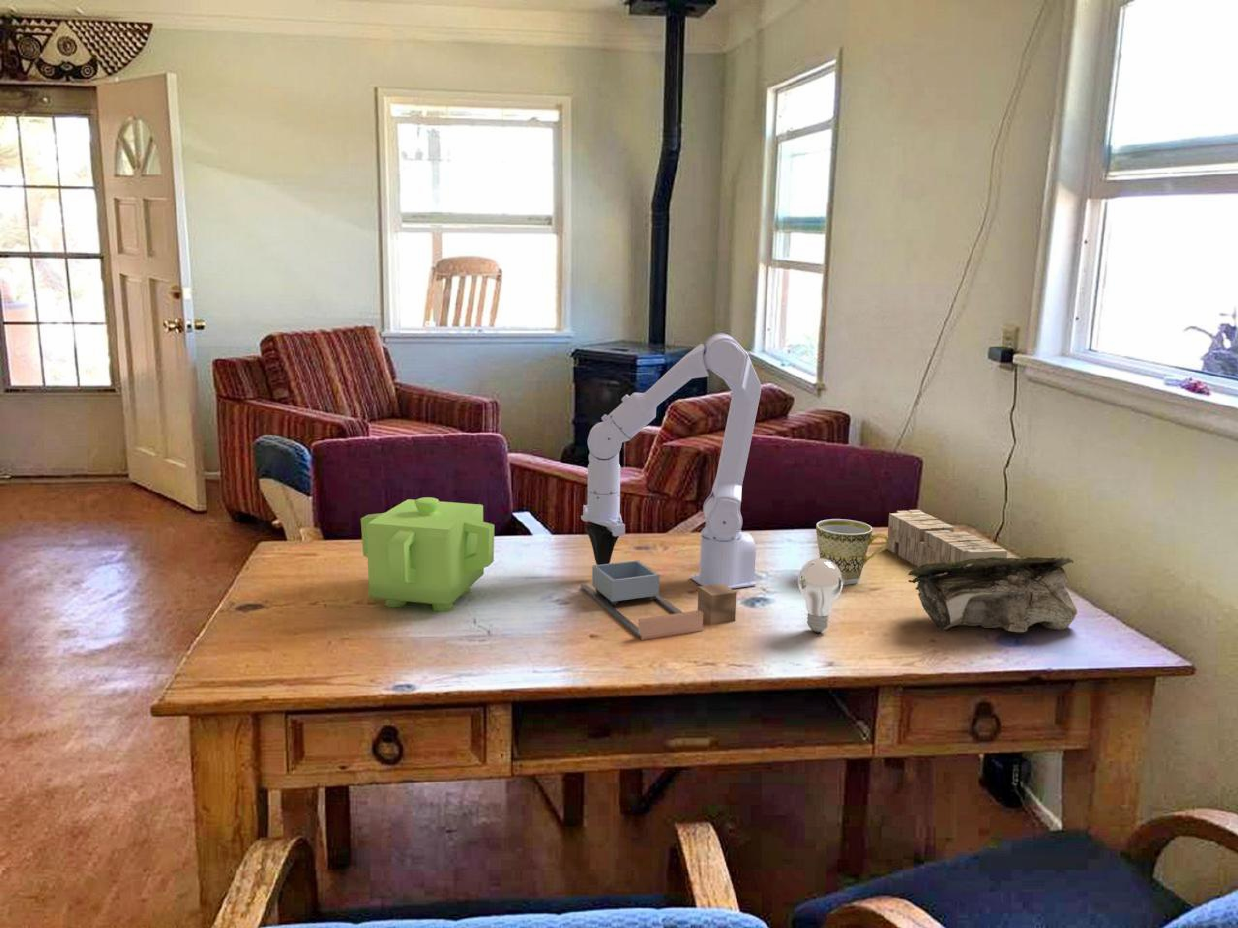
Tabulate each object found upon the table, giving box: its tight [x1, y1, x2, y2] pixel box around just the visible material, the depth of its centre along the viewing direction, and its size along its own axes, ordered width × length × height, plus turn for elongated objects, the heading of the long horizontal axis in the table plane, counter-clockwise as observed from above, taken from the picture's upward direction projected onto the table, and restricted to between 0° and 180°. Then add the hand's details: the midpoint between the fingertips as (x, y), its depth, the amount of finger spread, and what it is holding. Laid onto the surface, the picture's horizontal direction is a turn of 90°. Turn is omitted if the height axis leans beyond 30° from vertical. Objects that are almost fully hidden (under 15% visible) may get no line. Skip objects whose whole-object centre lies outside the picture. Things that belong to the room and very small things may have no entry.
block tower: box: [886, 509, 1008, 576], centre depth 191 cm, size 8×8×29 cm
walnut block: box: [697, 583, 738, 626], centre depth 163 cm, size 4×4×5 cm
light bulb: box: [797, 557, 844, 634], centre depth 157 cm, size 7×7×12 cm
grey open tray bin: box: [591, 560, 660, 606], centre depth 171 cm, size 9×9×5 cm
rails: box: [580, 584, 704, 641], centre depth 167 cm, size 11×25×3 cm, turn 24°
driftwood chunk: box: [908, 556, 1078, 633], centre depth 160 cm, size 28×13×15 cm
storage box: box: [360, 496, 495, 613], centre depth 169 cm, size 25×23×17 cm
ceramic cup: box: [815, 518, 889, 586], centre depth 182 cm, size 13×10×10 cm
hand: (602, 564), depth 180 cm, fingers closed
